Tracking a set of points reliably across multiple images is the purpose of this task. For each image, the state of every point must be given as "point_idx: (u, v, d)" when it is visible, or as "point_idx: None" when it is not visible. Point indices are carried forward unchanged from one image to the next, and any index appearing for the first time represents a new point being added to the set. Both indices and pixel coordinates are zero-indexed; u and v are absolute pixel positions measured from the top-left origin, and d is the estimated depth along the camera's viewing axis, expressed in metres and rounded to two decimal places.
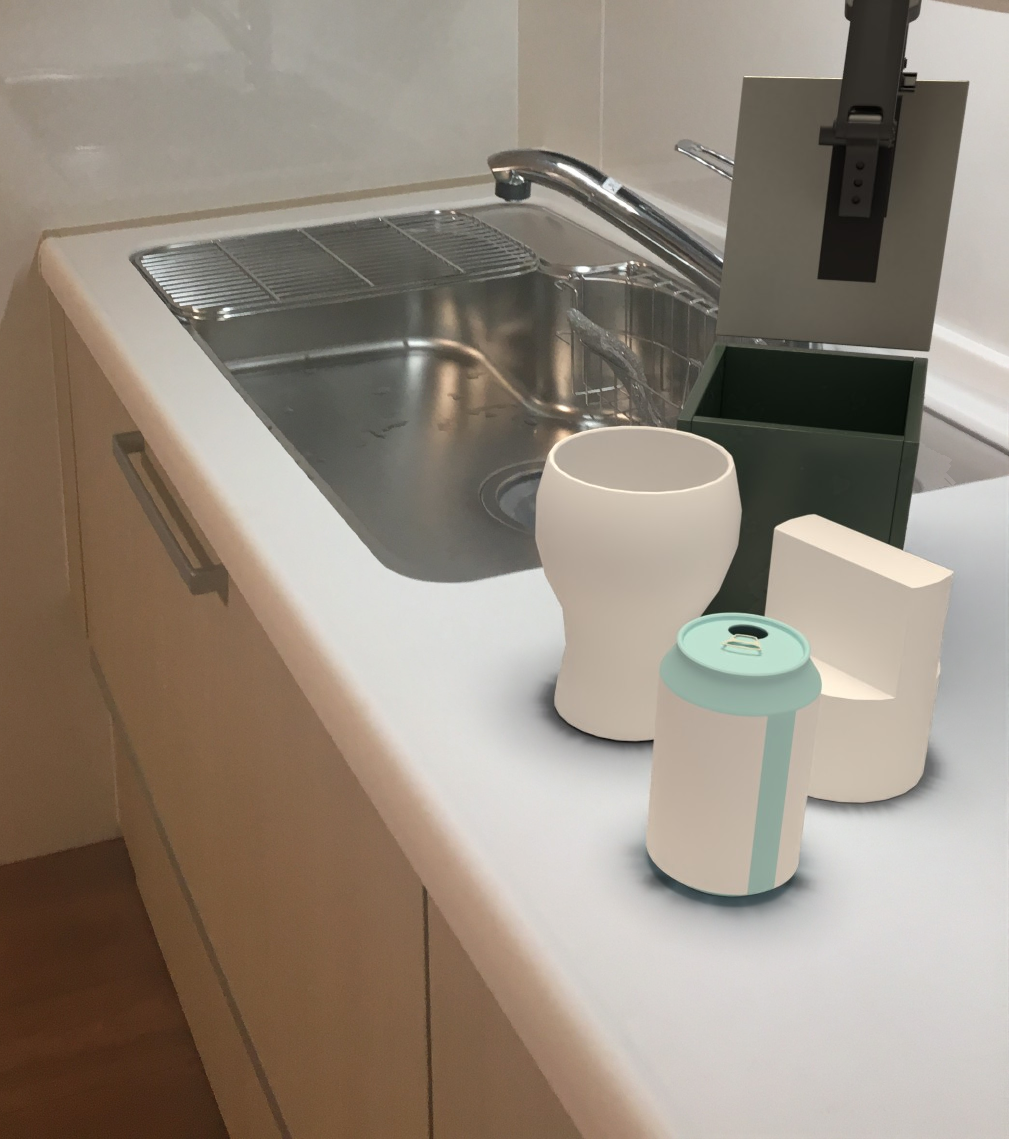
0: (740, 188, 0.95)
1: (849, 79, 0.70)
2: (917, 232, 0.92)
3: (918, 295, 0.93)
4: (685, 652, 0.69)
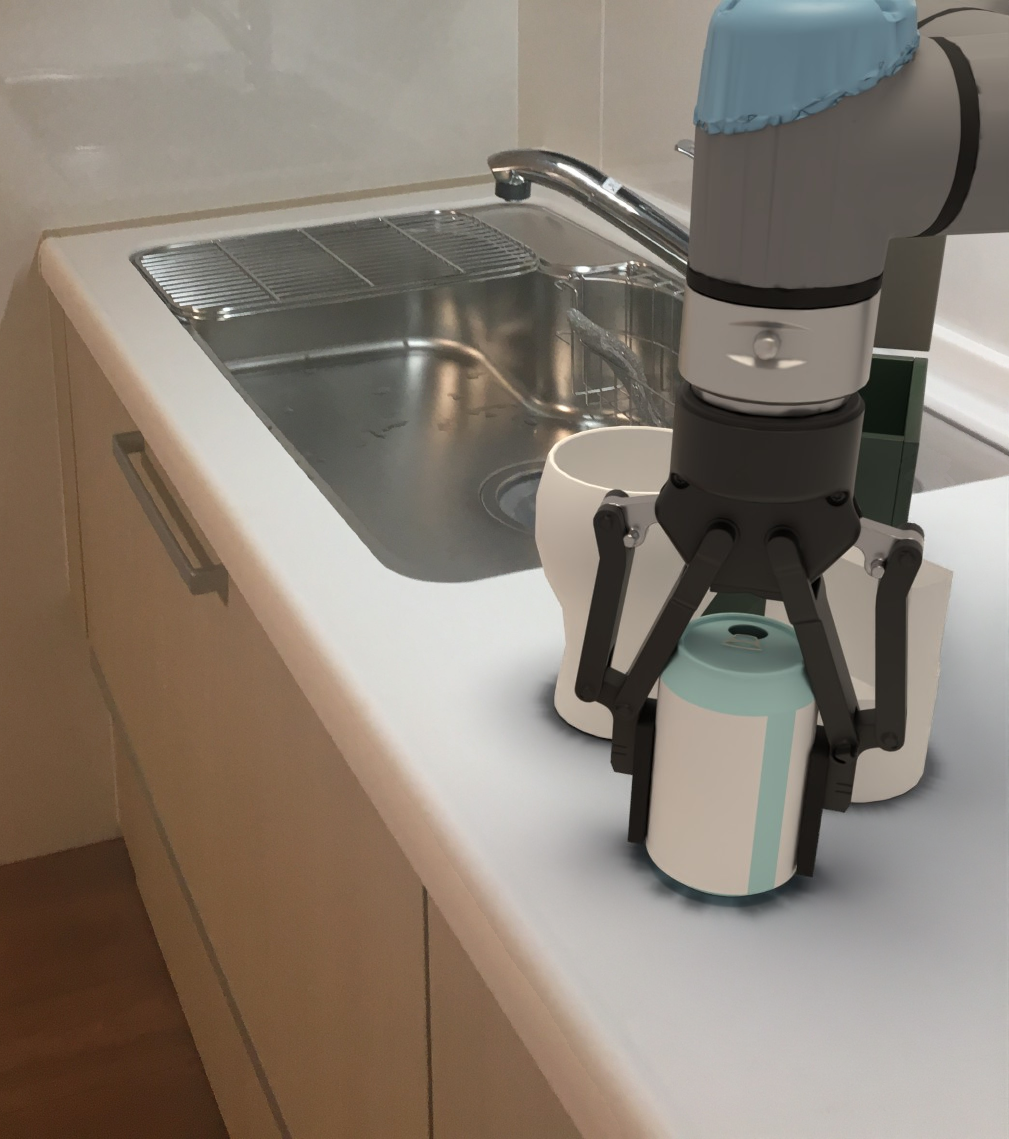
0: None
1: (905, 698, 0.67)
2: None
3: (918, 295, 0.93)
4: (685, 652, 0.69)
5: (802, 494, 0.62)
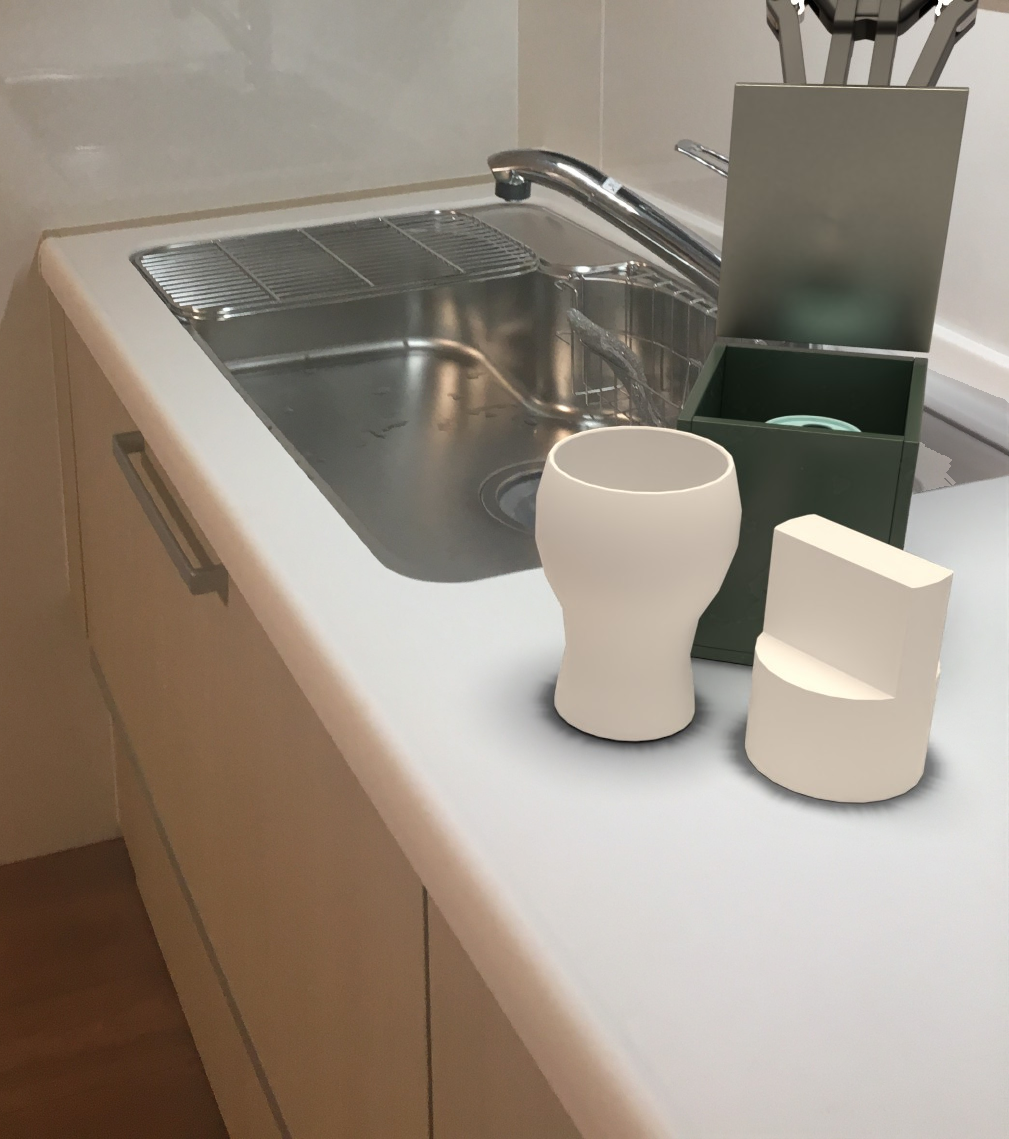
0: (735, 196, 0.93)
1: None
2: (916, 239, 0.91)
3: (917, 299, 0.92)
4: None
5: None
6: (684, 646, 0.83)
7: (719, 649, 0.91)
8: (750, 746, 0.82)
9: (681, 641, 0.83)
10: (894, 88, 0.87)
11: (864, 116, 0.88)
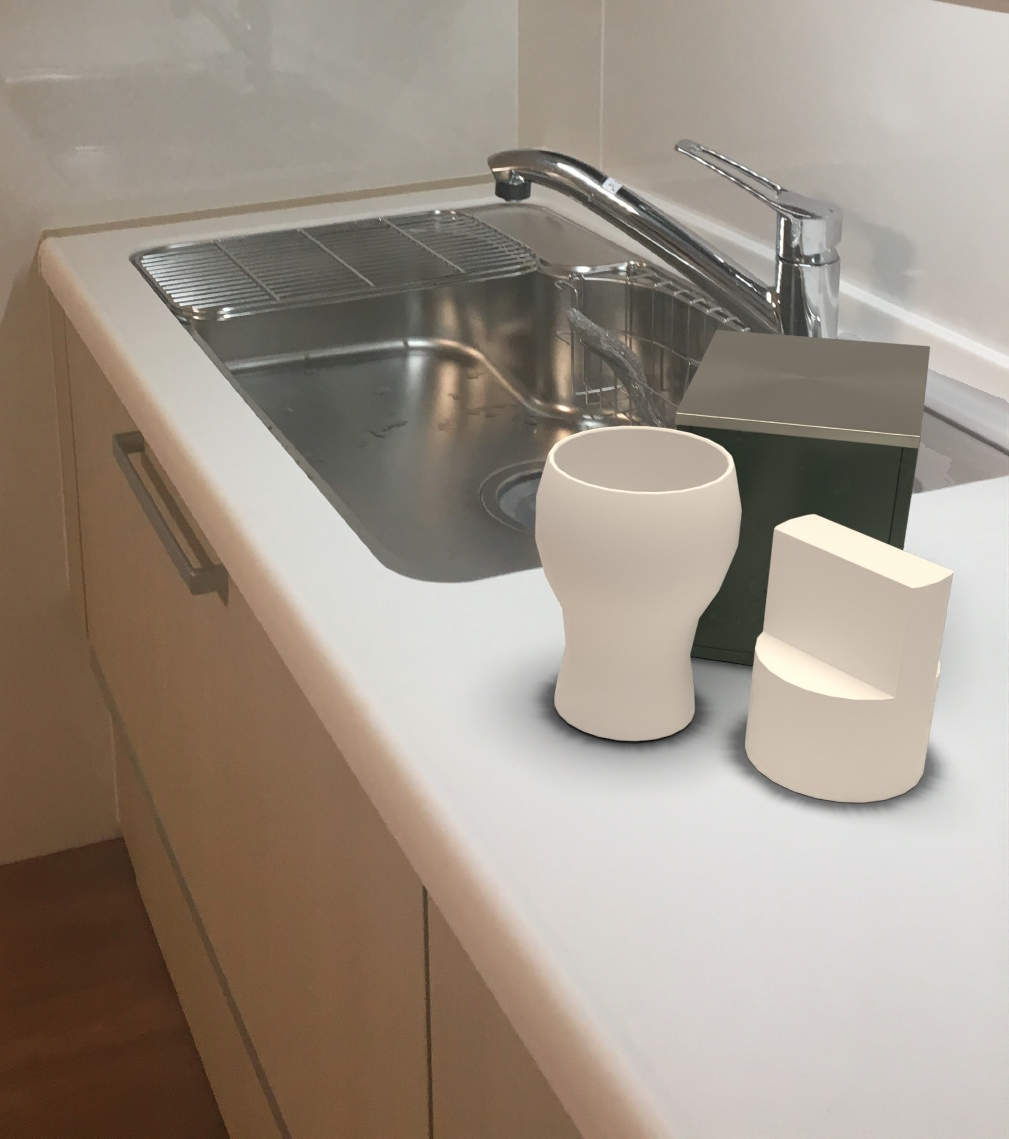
0: None
1: None
2: None
3: None
4: None
5: None
6: (684, 646, 0.83)
7: (719, 649, 0.91)
8: (750, 746, 0.82)
9: (681, 641, 0.83)
10: (841, 440, 0.83)
11: None
